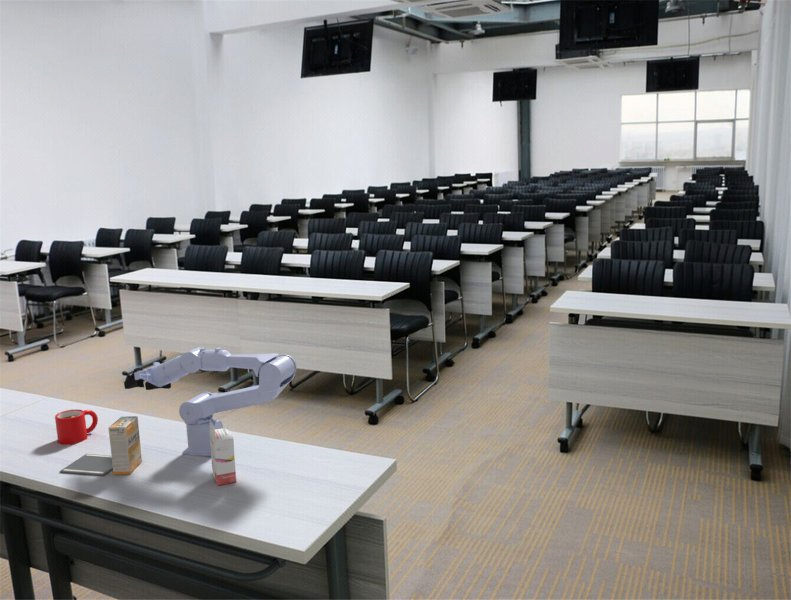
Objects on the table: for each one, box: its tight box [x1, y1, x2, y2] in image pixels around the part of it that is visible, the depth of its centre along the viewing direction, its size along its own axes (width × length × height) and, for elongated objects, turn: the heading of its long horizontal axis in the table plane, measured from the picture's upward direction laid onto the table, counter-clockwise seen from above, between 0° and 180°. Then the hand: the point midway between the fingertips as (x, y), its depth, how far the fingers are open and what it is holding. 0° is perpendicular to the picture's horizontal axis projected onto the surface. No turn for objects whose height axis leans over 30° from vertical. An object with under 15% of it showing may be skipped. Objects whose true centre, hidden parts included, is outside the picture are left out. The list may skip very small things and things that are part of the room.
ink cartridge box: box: [210, 420, 237, 486], centre depth 176 cm, size 9×5×15 cm, turn 23°
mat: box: [59, 453, 113, 477], centre depth 186 cm, size 13×11×1 cm
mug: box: [54, 409, 99, 446], centre depth 205 cm, size 8×12×8 cm, turn 144°
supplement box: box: [108, 415, 143, 475], centre depth 183 cm, size 8×5×13 cm, turn 179°
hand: (135, 386), depth 198 cm, fingers open, 7 cm apart
